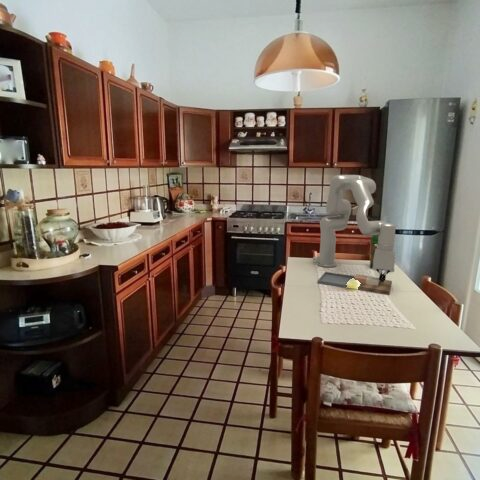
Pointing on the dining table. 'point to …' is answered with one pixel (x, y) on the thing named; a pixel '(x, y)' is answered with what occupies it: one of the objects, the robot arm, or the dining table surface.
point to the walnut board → (377, 287)
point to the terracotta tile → (361, 278)
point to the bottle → (373, 248)
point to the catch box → (335, 279)
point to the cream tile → (372, 280)
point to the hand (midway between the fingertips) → (382, 281)
